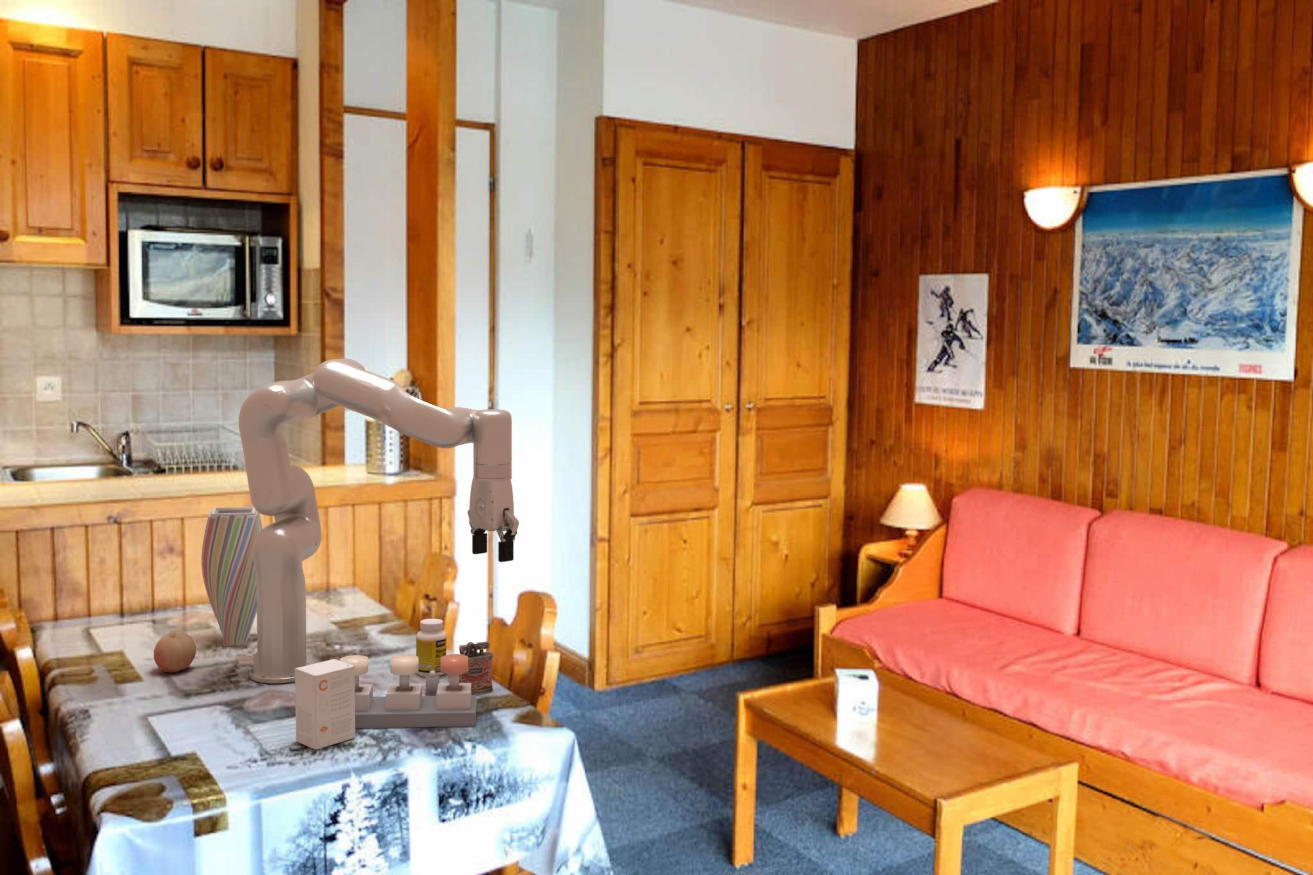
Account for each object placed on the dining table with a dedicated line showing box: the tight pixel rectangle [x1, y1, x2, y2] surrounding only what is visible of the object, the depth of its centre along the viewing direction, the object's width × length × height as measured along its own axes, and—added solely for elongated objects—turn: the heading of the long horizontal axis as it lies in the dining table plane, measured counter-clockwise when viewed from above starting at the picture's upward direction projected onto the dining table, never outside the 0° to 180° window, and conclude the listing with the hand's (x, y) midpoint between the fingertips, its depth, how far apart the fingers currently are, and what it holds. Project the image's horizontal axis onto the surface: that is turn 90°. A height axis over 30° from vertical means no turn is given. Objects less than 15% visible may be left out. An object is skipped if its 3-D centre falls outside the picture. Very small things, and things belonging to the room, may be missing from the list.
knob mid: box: [389, 654, 418, 689], centre depth 209 cm, size 5×5×5 cm
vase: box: [200, 506, 264, 647], centre depth 254 cm, size 14×14×30 cm
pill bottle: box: [415, 618, 448, 678], centre depth 236 cm, size 6×6×11 cm
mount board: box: [355, 682, 478, 729], centre depth 209 cm, size 26×10×6 cm, turn 97°
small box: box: [294, 658, 356, 751], centre depth 197 cm, size 8×6×13 cm
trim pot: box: [424, 670, 440, 696], centre depth 218 cm, size 3×3×6 cm
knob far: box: [441, 653, 468, 688], centre depth 210 cm, size 5×5×5 cm
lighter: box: [458, 641, 494, 696], centre depth 225 cm, size 8×3×10 cm, turn 117°
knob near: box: [339, 654, 369, 689], centre depth 207 cm, size 5×5×5 cm
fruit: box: [153, 630, 197, 674], centre depth 234 cm, size 8×8×8 cm
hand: (492, 557), depth 227 cm, fingers open, 9 cm apart
